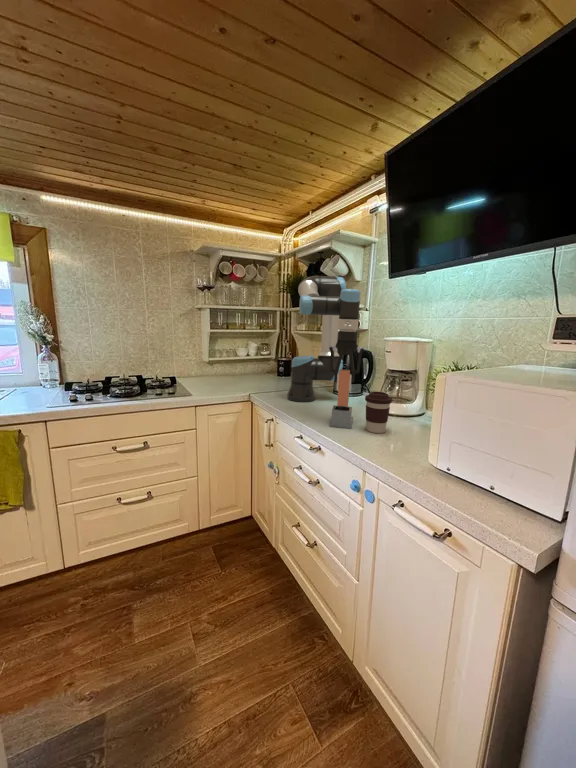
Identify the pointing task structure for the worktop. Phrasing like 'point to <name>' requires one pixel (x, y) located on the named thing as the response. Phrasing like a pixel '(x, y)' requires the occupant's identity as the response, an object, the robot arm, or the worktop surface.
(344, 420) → the grey holder stand
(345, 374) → the orange rectangular bar
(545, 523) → the worktop surface
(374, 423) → the coffee cup
